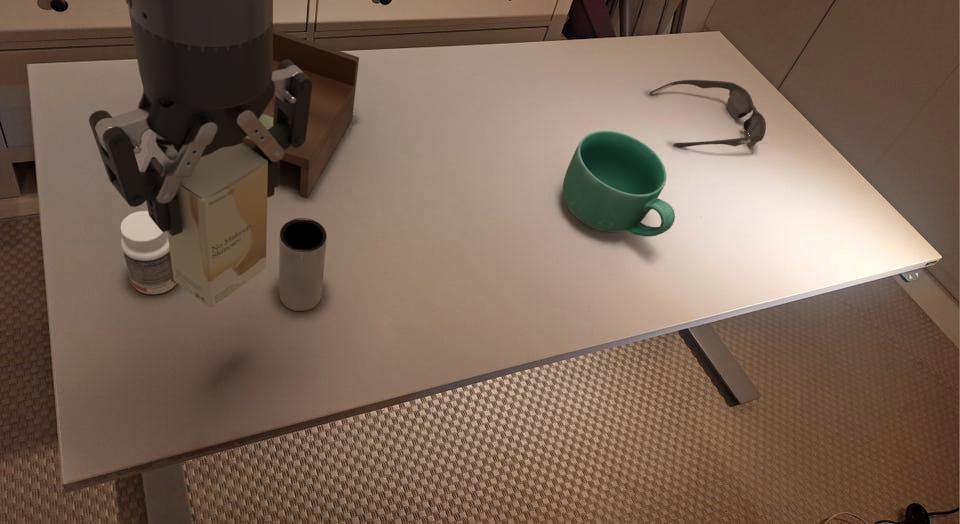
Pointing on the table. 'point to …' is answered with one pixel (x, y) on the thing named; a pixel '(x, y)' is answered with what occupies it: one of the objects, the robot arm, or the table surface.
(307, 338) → the table surface
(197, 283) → the cosmetic box
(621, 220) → the mug
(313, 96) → the shelf
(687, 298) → the table surface
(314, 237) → the grey cylindrical cup
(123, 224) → the pill bottle
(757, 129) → the sunglasses
